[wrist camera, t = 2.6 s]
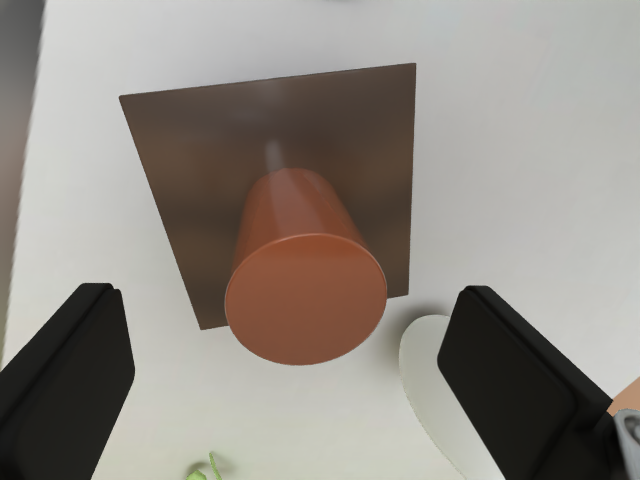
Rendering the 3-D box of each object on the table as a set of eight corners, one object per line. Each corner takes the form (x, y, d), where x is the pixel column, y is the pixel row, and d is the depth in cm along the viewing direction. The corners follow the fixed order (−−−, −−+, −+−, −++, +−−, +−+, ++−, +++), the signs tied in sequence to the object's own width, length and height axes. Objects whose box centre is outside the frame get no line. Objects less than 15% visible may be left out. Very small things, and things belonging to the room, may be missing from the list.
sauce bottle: (372, 353, 32) (474, 628, 16) (398, 288, 29) (558, 550, 13) (441, 358, 34) (595, 610, 18) (473, 297, 31) (696, 538, 15)
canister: (242, 162, 14) (222, 229, 8) (348, 170, 15) (403, 236, 9) (241, 258, 16) (225, 369, 10) (334, 260, 17) (372, 364, 11)
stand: (171, 88, 20) (117, 95, 12) (365, 67, 21) (417, 62, 13) (219, 259, 25) (200, 331, 18) (370, 235, 26) (408, 295, 19)
